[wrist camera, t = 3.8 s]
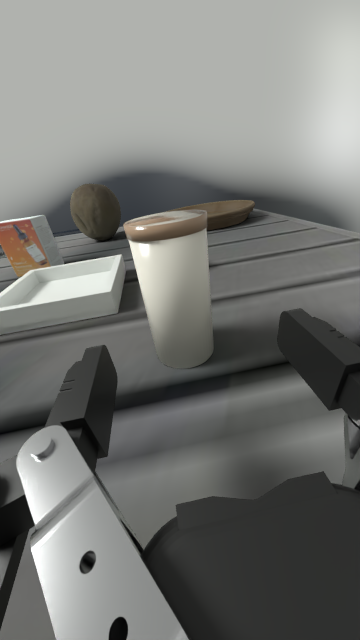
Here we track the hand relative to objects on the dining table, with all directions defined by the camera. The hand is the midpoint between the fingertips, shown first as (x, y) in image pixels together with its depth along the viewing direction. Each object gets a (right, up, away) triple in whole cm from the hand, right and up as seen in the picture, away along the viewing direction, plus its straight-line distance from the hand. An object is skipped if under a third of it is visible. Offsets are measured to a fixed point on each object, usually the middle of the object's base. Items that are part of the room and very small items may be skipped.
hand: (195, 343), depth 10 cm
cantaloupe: (-24, +26, +60) cm, 70 cm away
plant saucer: (+7, +32, +62) cm, 70 cm away
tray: (-17, +5, +24) cm, 30 cm away
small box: (-31, +12, +38) cm, 50 cm away
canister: (0, -1, +10) cm, 10 cm away
